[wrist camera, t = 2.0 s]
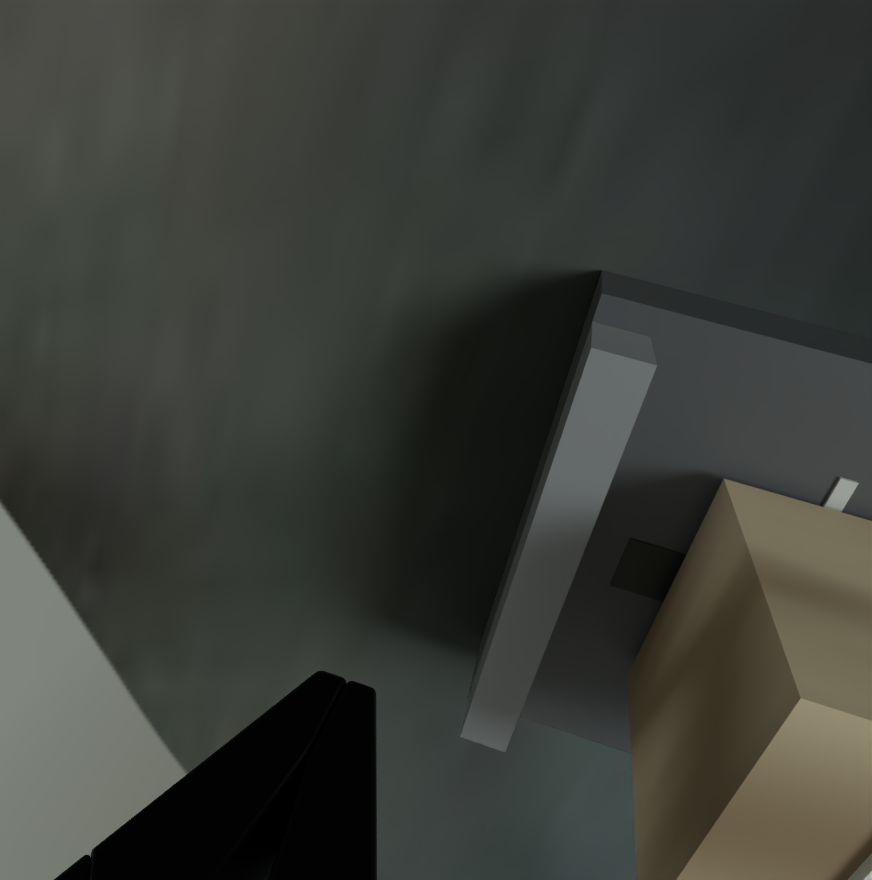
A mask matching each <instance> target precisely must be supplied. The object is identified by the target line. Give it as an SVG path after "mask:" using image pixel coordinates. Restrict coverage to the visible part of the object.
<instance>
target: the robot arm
mask: <svg viewBox="0 0 872 880" xmlns="http://www.w3.org/2000/svg"><path fill="white" fill-rule="evenodd" d="M54 880H377V804H376V692H375V690H374V688H372V687H369V686H366V685H363V684H360V683H357V682H354V681H349V682H348V683H347V684H346V680H345V679H344V678H343V677H340V676H337V675H334V674H331V673H328V672H325V671H318V672H316V673H314V674H313V675H312V676H311V677H309V678H308V679H307V680H305V681H304V682H303V683H302V684H300V685H299V686H298V687H297V688H295V689H294V690H293V691H292V692H290V693H289V694H288V695H287V696H285V697H284V698H283V699H282V700H280V701H279V702H278V703H276V704H275V705H274V706H273V707H271V708H270V709H269V710H268V711H266V712H265V713H264V714H263V715H261V716H260V717H259V718H258V719H256V720H255V721H254V722H252V723H251V724H250V725H249V726H247V727H246V728H245V729H244V730H242V731H241V732H240V733H239V734H237V735H236V736H235V737H234V738H232V739H231V740H230V741H229V742H227V743H226V744H225V745H223V746H222V747H221V748H220V749H218V750H217V751H216V752H215V753H213V754H212V755H211V756H210V757H208V758H207V759H206V760H205V761H203V762H202V763H201V764H200V765H198V766H197V767H196V768H194V769H193V770H192V771H191V772H189V773H188V774H187V775H186V776H185V777H183V778H182V779H181V780H179V781H178V782H177V783H176V784H174V785H173V786H172V787H171V788H169V789H168V790H167V791H165V792H164V793H163V794H162V795H161V796H159V797H158V798H157V799H155V800H154V801H153V802H152V803H150V804H149V805H148V806H147V807H145V808H144V809H143V810H142V811H141V812H139V813H138V814H136V815H135V816H134V817H133V818H131V819H130V820H129V821H128V822H126V823H125V824H124V825H123V826H121V827H120V828H119V829H118V830H116V831H115V832H114V833H113V834H111V835H110V836H109V837H107V838H106V839H105V840H104V841H102V842H101V843H100V844H99V845H97V846H96V847H95V848H94V849H93V850H92V852H91V858H90V856H89V855H85V856H83V857H82V858H80V859H79V860H78V861H77V862H75V863H74V864H73V865H72V866H71V867H69V868H68V869H67V870H65V871H64V872H63V873H62V874H61V875H59V876H58V877H57V878H56V879H54Z"/></svg>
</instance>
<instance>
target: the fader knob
mask: <svg viewBox="0 0 872 880" xmlns="http://www.w3.org/2000/svg"><path fill="white" fill-rule="evenodd" d="M627 679H628V700H629V721H630V742H631V763H632V784H633V805H634V826H635V847H636V868H637V880H872V521H870V520H867V519H863V518H860V517H856V516H853V515H849V514H846V513H842V512H839V511H835V510H832V509H828V508H825V507H821V506H818V505H814V504H811V503H807V502H804V501H800V500H797V499H793V498H790V497H786V496H783V495H779V494H776V493H773V492H769V491H766V490H762V489H759V488H755V487H752V486H748V485H745V484H741V483H738V482H734V481H731V480H727V479H723V481H722V483H721V485H720V487H719V489H718V491H717V493H716V495H715V497H714V499H713V501H712V504H711V506H710V508H709V510H708V512H707V514H706V516H705V518H704V520H703V522H702V524H701V526H700V528H699V530H698V532H697V534H696V536H695V538H694V540H693V542H692V544H691V546H690V549H689V551H688V553H687V555H686V557H685V559H684V561H683V563H682V565H681V567H680V569H679V571H678V573H677V575H676V577H675V579H674V581H673V583H672V585H671V587H670V589H669V591H668V593H667V596H666V598H665V600H664V602H663V604H662V606H661V608H660V610H659V612H658V614H657V616H656V618H655V620H654V622H653V624H652V626H651V628H650V630H649V632H648V634H647V636H646V638H645V641H644V643H643V645H642V647H641V649H640V651H639V653H638V655H637V657H636V659H635V661H634V663H633V665H632V667H631V669H630V671H629V673H628V675H627Z"/></svg>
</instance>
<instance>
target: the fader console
mask: <svg viewBox="0 0 872 880" xmlns="http://www.w3.org/2000/svg"><path fill="white" fill-rule="evenodd" d="M723 479H727V480H731V481H734V482H738V483H741V484H745V485H748V486H752V487H755V488H759V489H762V490H766V491H769V492H773V493H776V494H779V495H783V496H786V497H790V498H793V499H797V500H800V501H804V502H807V503H811V504H814V505H818V506H821V507H825V508H828V509H832V510H835V511H839V512H842V513H846V514H849V515H853V516H856V517H860V518H863V519H867V520H870V521H872V340H870V339H866V338H863V337H859V336H855V335H851V334H847V333H843V332H839V331H835V330H831V329H828V328H824V327H820V326H816V325H812V324H808V323H804V322H800V321H797V320H793V319H789V318H785V317H781V316H777V315H773V314H769V313H765V312H762V311H758V310H754V309H750V308H746V307H742V306H738V305H734V304H731V303H727V302H723V301H719V300H715V299H711V298H707V297H703V296H699V295H696V294H692V293H688V292H684V291H680V290H676V289H672V288H668V287H665V286H661V285H657V284H653V283H649V282H645V281H641V280H637V279H634V278H630V277H626V276H622V275H618V274H614V273H610V272H606V271H601V274H600V277H599V280H598V283H597V286H596V289H595V293H594V296H593V299H592V302H591V305H590V308H589V311H588V314H587V317H586V320H585V323H584V326H583V329H582V332H581V336H580V339H579V342H578V345H577V348H576V351H575V354H574V357H573V360H572V363H571V366H570V369H569V372H568V375H567V379H566V382H565V385H564V388H563V391H562V394H561V397H560V400H559V403H558V406H557V409H556V412H555V415H554V418H553V422H552V425H551V428H550V431H549V434H548V437H547V440H546V443H545V446H544V449H543V452H542V455H541V458H540V461H539V464H538V468H537V471H536V474H535V477H534V480H533V483H532V486H531V489H530V492H529V495H528V498H527V501H526V504H525V507H524V511H523V514H522V517H521V520H520V523H519V526H518V529H517V532H516V535H515V538H514V541H513V544H512V547H511V550H510V554H509V557H508V560H507V563H506V566H505V569H504V572H503V575H502V578H501V581H500V584H499V587H498V590H497V593H496V597H495V600H494V603H493V606H492V609H491V612H490V615H489V618H488V621H487V624H486V627H485V630H484V633H483V636H482V640H481V643H480V648H479V652H478V656H477V660H476V665H475V669H474V673H473V678H472V682H471V686H470V690H469V695H468V699H469V701H468V705H467V709H466V714H465V718H464V722H463V726H462V731H461V735H460V737H462V738H465V739H468V740H471V741H474V742H477V743H480V744H483V745H486V746H488V747H491V748H494V749H497V750H500V751H503V752H505V751H506V749H507V746H508V743H509V741H510V738H511V736H512V733H513V731H514V728H515V726H516V723H517V721H518V718H519V716H521V717H524V718H527V719H530V720H533V721H536V722H538V723H541V724H544V725H547V726H550V727H553V728H556V729H559V730H562V731H565V732H568V733H571V734H574V735H577V736H580V737H583V738H586V739H589V740H592V741H595V742H598V743H601V744H603V745H606V746H609V747H612V748H615V749H618V750H621V751H624V752H627V753H630V754H631V742H630V721H629V700H628V679H627V675H628V673H629V671H630V669H631V667H632V665H633V663H634V661H635V659H636V657H637V655H638V653H639V651H640V649H641V647H642V645H643V643H644V641H645V638H646V636H647V634H648V632H649V630H650V628H651V626H652V624H653V622H654V620H655V618H656V616H657V614H658V612H659V610H660V608H661V606H662V604H663V602H664V600H665V598H666V596H667V593H668V591H669V589H670V587H671V585H672V583H673V581H674V579H675V577H676V575H677V573H678V571H679V569H680V567H681V565H682V563H683V561H684V559H685V557H686V555H687V553H688V551H689V549H690V546H691V544H692V542H693V540H694V538H695V536H696V534H697V532H698V530H699V528H700V526H701V524H702V522H703V520H704V518H705V516H706V514H707V512H708V510H709V508H710V506H711V504H712V501H713V499H714V497H715V495H716V493H717V491H718V489H719V487H720V485H721V483H722V481H723Z"/></svg>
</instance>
